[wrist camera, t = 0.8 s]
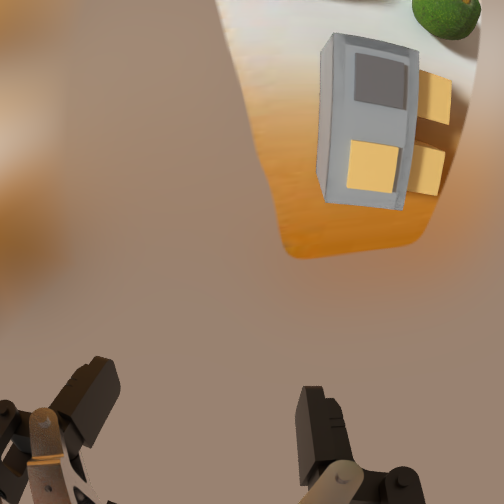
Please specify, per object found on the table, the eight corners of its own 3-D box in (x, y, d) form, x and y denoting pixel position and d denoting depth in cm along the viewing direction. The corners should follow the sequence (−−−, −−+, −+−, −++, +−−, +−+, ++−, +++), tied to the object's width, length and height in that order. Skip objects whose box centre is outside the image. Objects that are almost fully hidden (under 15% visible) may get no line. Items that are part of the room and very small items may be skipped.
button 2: (368, 65, 23) (382, 60, 18) (430, 80, 22) (451, 80, 17) (367, 106, 25) (381, 108, 21) (428, 119, 24) (448, 125, 20)
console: (320, 52, 26) (334, 31, 16) (382, 62, 25) (421, 50, 15) (315, 171, 34) (326, 204, 24) (373, 178, 33) (404, 213, 23)
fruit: (453, 51, 21) (505, 45, 11) (404, 35, 22) (449, 17, 12) (447, 5, 17) (493, -13, 7) (398, -12, 18) (435, -42, 8)
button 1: (365, 131, 27) (378, 137, 23) (425, 143, 26) (445, 152, 22) (361, 172, 29) (372, 186, 25) (419, 181, 29) (437, 195, 24)
